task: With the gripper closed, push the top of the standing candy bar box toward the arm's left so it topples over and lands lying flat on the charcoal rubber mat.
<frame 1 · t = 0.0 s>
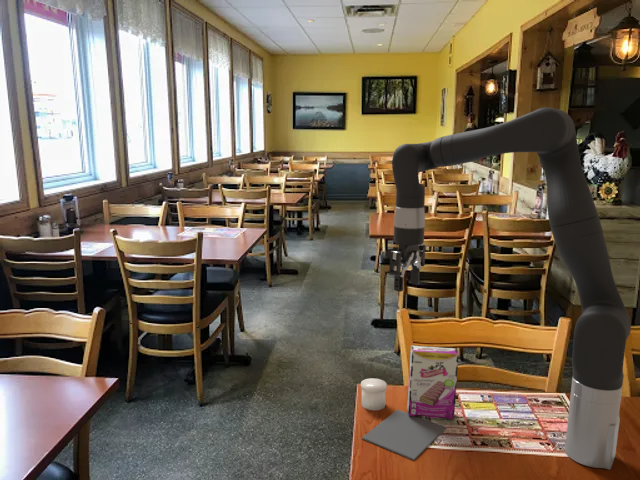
hand: (406, 287, 133), 29 cm above the table, fingers open, 8 cm apart
candy bar box: (430, 415, 127), on the table, touching mat
mat: (405, 433, 119), on the table
sugar bowl: (373, 404, 133), on the table
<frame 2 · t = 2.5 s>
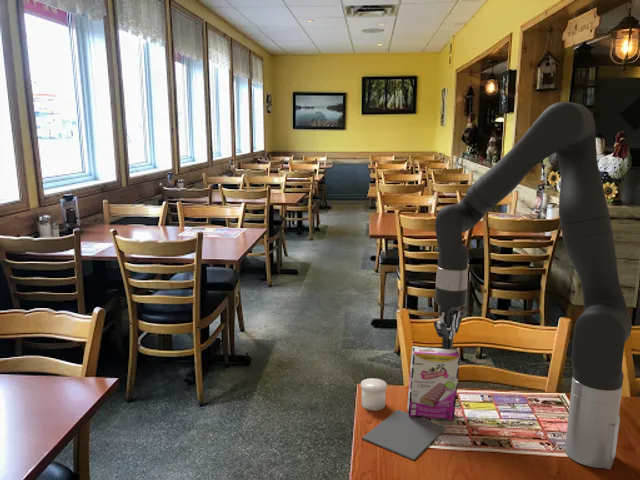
hand: (446, 351, 131), 14 cm above the table, fingers closed
nothing on the table moved.
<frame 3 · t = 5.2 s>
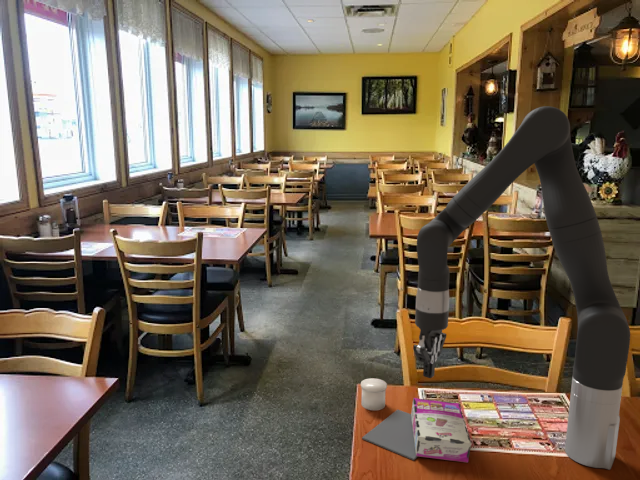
hand: (428, 376, 124), 11 cm above the table, fingers closed
candy bar box: (435, 409, 125), point 3 cm above the table, touching mat
everything else where it was.
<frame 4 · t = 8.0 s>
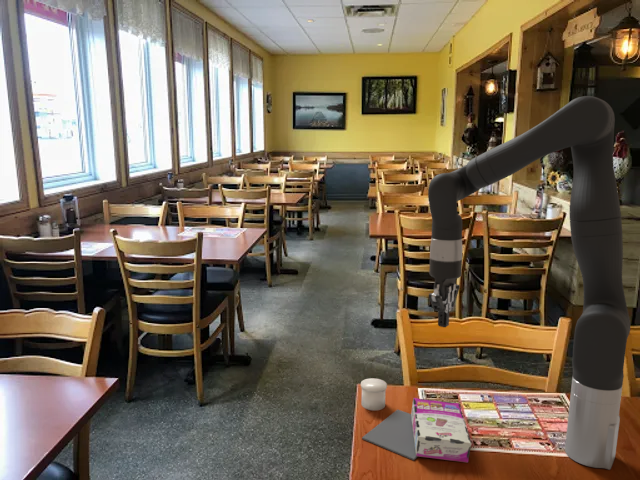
hand: (443, 325, 127), 22 cm above the table, fingers closed
nothing on the table moved.
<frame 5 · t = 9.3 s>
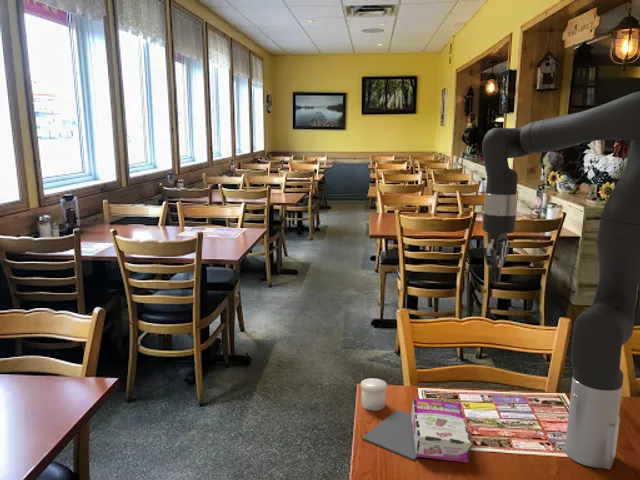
hand: (494, 281, 129), 32 cm above the table, fingers closed
nothing on the table moved.
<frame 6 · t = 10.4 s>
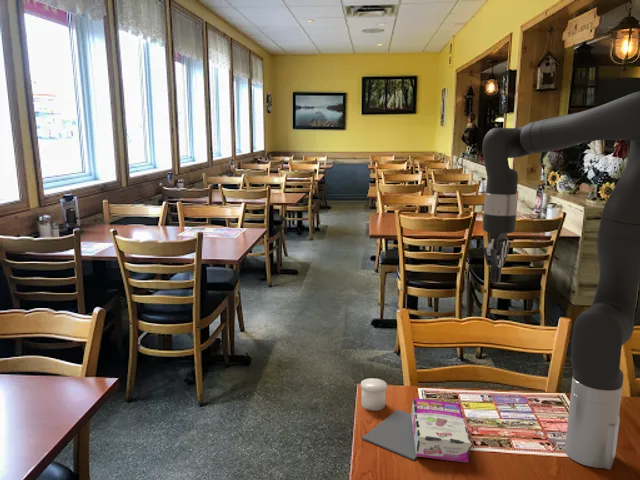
hand: (495, 281, 129), 32 cm above the table, fingers closed
nothing on the table moved.
at the end: candy bar box tilted 91°; candy bar box inside the target area (6.7 cm from its centre), point 3.0 cm above the table; sugar bowl moved 0.1 cm from its start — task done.
